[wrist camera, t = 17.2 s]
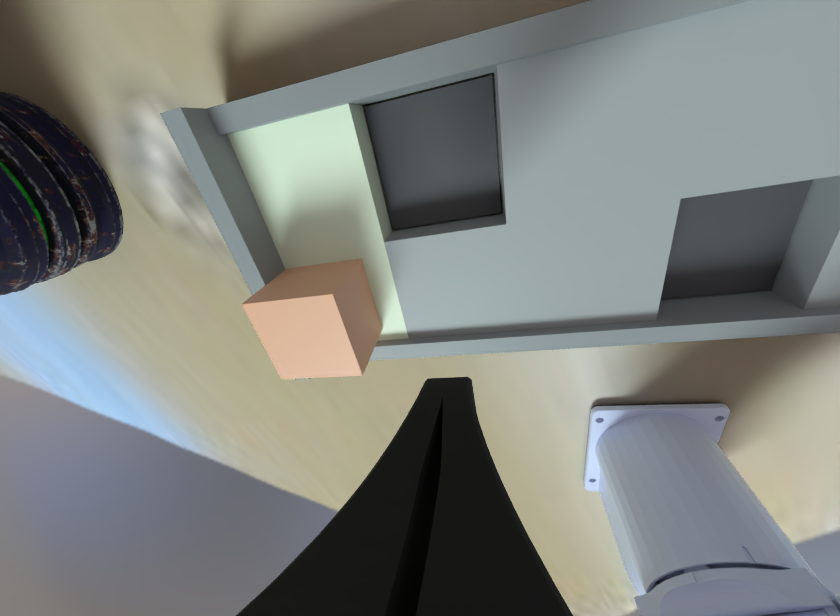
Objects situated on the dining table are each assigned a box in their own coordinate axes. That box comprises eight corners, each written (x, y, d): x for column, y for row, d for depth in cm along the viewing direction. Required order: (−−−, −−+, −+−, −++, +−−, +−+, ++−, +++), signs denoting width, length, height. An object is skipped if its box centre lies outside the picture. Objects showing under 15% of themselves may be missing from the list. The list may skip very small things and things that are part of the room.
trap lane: (910, 294, 15) (1033, 343, 12) (322, 340, 23) (295, 379, 19) (1190, -148, 9) (1645, -318, 5) (227, 115, 16) (160, 113, 12)
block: (382, 329, 19) (362, 375, 15) (314, 334, 20) (281, 379, 16) (361, 258, 17) (332, 294, 13) (286, 268, 18) (241, 304, 14)
